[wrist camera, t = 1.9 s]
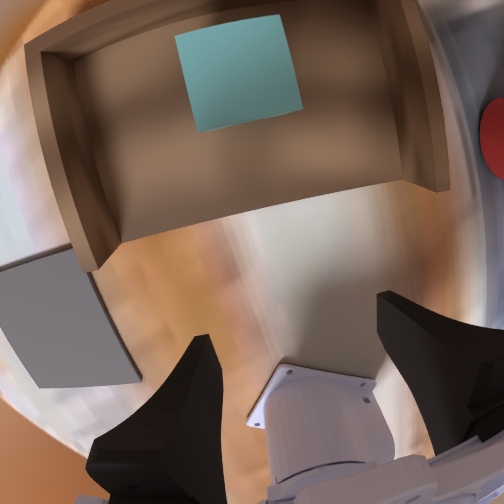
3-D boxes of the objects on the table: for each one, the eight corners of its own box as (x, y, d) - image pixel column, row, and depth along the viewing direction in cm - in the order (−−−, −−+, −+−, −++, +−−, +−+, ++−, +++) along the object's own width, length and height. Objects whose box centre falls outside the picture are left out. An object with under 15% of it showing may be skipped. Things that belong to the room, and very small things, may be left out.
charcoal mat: (78, 245, 19) (76, 247, 19) (142, 379, 24) (141, 382, 23) (-21, 278, 19) (-23, 280, 19) (40, 385, 24) (39, 388, 24)
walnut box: (410, 175, 19) (450, 189, 15) (110, 243, 19) (83, 273, 15) (370, -11, 14) (401, -36, 10) (62, 56, 14) (24, 45, 10)
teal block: (280, 115, 16) (303, 109, 11) (209, 131, 17) (197, 131, 11) (264, 49, 15) (279, 14, 9) (193, 65, 15) (174, 35, 10)
